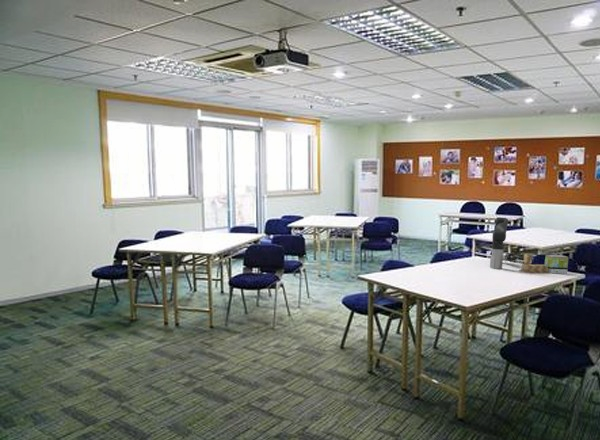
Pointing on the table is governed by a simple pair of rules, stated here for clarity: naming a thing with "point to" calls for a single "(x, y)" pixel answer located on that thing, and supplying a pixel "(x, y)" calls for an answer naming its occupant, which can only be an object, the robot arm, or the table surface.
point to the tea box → (556, 263)
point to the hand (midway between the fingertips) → (519, 259)
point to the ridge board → (534, 268)
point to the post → (527, 259)
